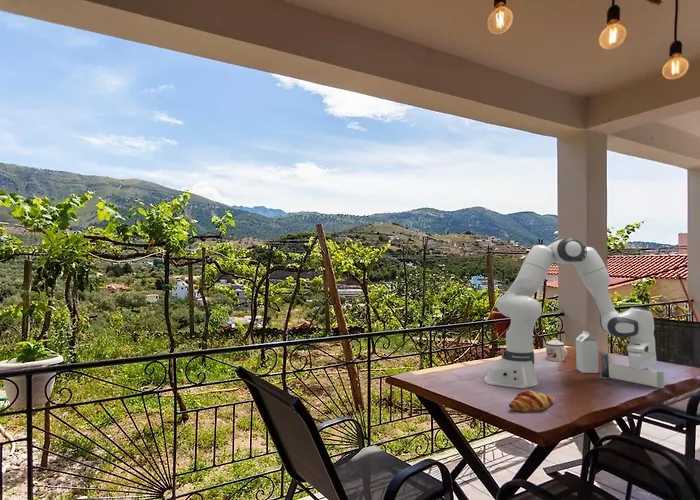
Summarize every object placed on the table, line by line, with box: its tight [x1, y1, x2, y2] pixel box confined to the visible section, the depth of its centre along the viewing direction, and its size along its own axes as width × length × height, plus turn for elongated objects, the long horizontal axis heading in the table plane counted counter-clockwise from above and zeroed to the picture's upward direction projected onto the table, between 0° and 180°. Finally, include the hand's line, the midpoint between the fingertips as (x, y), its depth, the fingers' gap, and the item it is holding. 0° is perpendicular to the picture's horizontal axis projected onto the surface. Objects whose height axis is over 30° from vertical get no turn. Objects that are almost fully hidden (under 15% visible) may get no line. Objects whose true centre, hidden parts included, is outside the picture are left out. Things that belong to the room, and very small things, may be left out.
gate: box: [609, 363, 665, 389], centre depth 181 cm, size 20×2×6 cm, turn 34°
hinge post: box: [598, 352, 613, 381], centre depth 191 cm, size 5×5×11 cm
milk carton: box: [575, 330, 600, 374], centre depth 203 cm, size 7×7×19 cm
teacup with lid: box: [545, 337, 568, 362], centre depth 226 cm, size 12×9×12 cm
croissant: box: [508, 389, 555, 413], centre depth 156 cm, size 21×10×8 cm, turn 114°
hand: (644, 377), depth 181 cm, fingers closed
